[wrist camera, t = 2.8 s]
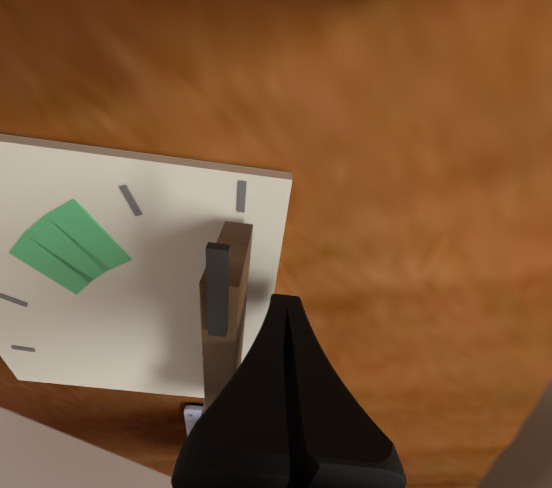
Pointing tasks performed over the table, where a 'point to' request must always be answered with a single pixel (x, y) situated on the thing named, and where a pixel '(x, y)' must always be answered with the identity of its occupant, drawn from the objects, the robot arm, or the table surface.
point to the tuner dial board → (122, 261)
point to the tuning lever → (224, 306)
